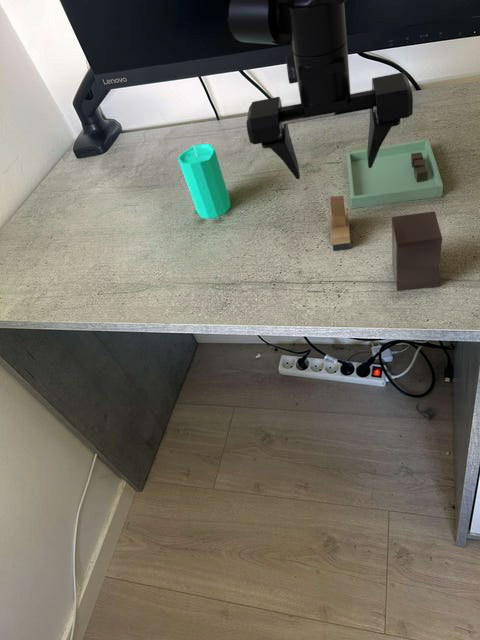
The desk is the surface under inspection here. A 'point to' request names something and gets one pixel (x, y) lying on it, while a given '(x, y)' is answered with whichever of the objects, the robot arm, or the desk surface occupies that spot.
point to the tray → (392, 175)
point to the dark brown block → (416, 251)
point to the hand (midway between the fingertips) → (333, 171)
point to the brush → (339, 224)
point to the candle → (205, 180)
